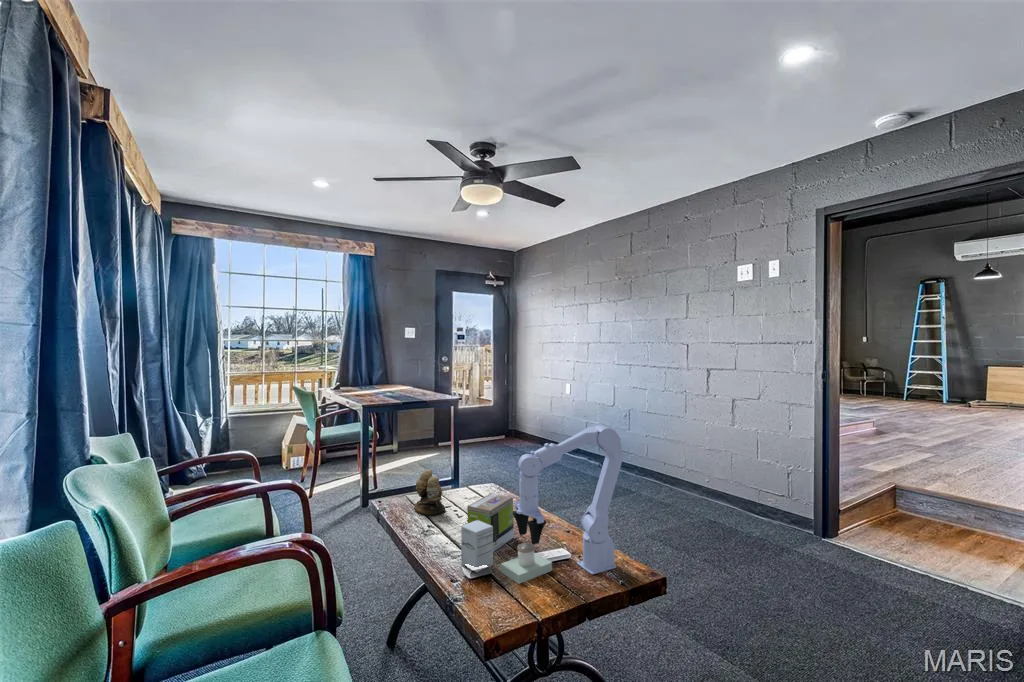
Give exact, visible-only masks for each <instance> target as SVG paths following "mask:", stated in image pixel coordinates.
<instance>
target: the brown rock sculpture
mask: <svg viewBox="0 0 1024 682" xmlns="http://www.w3.org/2000/svg"><path fill="white" fill-rule="evenodd" d="M415 490H416V492H417V494H418V497H420V499H419V500H417V502H416V503H415V504H414V506H413V510H414V511H415V513H417V514H419V515H420V514H421V516H424V515H425V516H426V517H431V516H432V517H433V516H437V515H442V513H443V514H444V513H445V511H446V507H445V505H444V504H443V503H442V501H443V500H442V499H443V498H442V495H443V489H442V486H441V485H440V479H439V476H436V475H433V470H431V469H426V470H424V471H423V472H422V473H421V474H420V476H419V477H418V478H417V479H416V483H415Z"/></svg>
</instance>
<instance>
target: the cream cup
mask: <svg viewBox="0 0 1024 682" xmlns="http://www.w3.org/2000/svg"><path fill="white" fill-rule="evenodd" d="M534 553H535V544H534V545H533V544H532V542H531V543H530V542H524V543H520V544H518V545H517V558H518V564H519V565H520V566H522V567H531V566H533V565H534V564H535V558H534Z"/></svg>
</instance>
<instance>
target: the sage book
mask: <svg viewBox="0 0 1024 682" xmlns="http://www.w3.org/2000/svg"><path fill="white" fill-rule="evenodd" d="M534 558H535V564H534V565H533V566H531V567H522V566H520V565H519V564H518V557H514V558H512V559H510V560H507V561H504V562H502V563H500V573H501V574H503V575H505V576H506V577H508V578H509V579H511V580H512V581H514V582H515V583H516V584H519V585H521V584H522V583H525V582H527V581H531V580H532V579H535V578H538V577H540V576H542V575H544V574H547V573H550V572H552V571H553V562H552V561H550V560H549V559H547V558H546V557H543V556H542V555H539V554H538V553H536V552H534Z"/></svg>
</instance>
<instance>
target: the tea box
mask: <svg viewBox="0 0 1024 682" xmlns="http://www.w3.org/2000/svg"><path fill="white" fill-rule="evenodd" d="M466 507H467V509H466V511H467V524H468V523H471V522H473V521H476V520H479V521H481V522H484V523H486V524H489V525H491V526H493V553H494V552H496V551H497V550H498V549H499V548H501V547H502V546H504V545H505V544H506V543H508V542H510V540H512V539H513V538H515V529H514V528H515V526H514V521H515V520H514V519H515V517H514V515H513V511H514V497H513V496H506V495H500V494H496V493H495V494H494V493H489V494H487V495H485V496H483V497H481V498H479V499H478V500H476V501H474V502H472V503H470V504H468V505H467V506H466Z"/></svg>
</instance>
